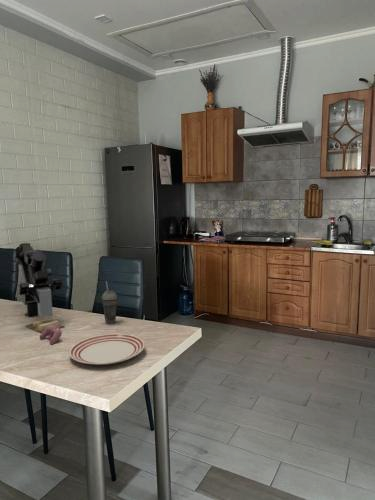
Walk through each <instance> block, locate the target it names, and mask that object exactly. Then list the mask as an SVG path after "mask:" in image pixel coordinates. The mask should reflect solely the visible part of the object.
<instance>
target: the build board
mask: <svg viewBox="0 0 375 500" xmlns="http://www.w3.org/2000/svg"><path fill="white" fill-rule="evenodd" d="M48 326H57V327H59V329H60V330H61V329H63V328H65V325H64V324H60V323H59V321H58V320H55V319H52V318H50V317H48V318H44V319H41V320H37V321H34V322H33V321H32V323H29V324H26V325H25V328H27V329H30V330H32V331H35V332H37V333H39V334H42V333H43V332H44V330H45V329H46V328H47V327H48Z"/></svg>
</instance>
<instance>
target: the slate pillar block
mask: <svg viewBox="0 0 375 500" xmlns="http://www.w3.org/2000/svg"><path fill="white" fill-rule="evenodd" d="M37 295H38V298H39V301H40V303H38V302H37V303H38V315H37V316H39V318H41V319H42V318H47V317H48V318H49V317H53V297H52V298H51V289H49V288H41V289H37Z"/></svg>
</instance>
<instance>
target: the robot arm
mask: <svg viewBox="0 0 375 500" xmlns="http://www.w3.org/2000/svg"><path fill="white" fill-rule="evenodd" d="M13 256H14V257H13V258H14V260H15V261H16V263H17V264H18V265H20V269H21V271H22V275H23V279H24V282H21V283H19V286H18V294H19V295H20V296H22V303H23V304H24V305H25V306H26V313H24V316H27V317H30V318H31V317H32V318H33V317H35V316H39V315H38V303H40V301H39V298H38V295H37V289H43V288H49V289H51V298H52V299H53V294H54V292H56V291H59V290H62V288H63V284H64V281H63V279H62V278H53V279H52V282H48V281H49V277H52V276H53V272H52V268H47V269H46V270H44V267H45V262H46V258H47V256H46V254H45V252H44V251H41V250H40V249H34V248H33V247H32V246H31V243H29V242H28V243H27V242H26V243H25V242H24V243H19V245H18V246H17V247H16V248H15V249H14V251H13ZM37 302H38V303H37Z"/></svg>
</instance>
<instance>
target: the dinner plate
mask: <svg viewBox="0 0 375 500" xmlns="http://www.w3.org/2000/svg"><path fill="white" fill-rule="evenodd" d="M145 347H146V344H145V341H144V340H143V339H142V338H140V337H138V336H136V335H134V334H133V335H132V334H126V333H125V334H124V333H107V334H100V335H95V336H94V335H93V336H91V337H88V338H84V339H83V340H80V341H79V342H77V343H75V344H74V345H73V346H71V347H70V349H69V352H68V354H69V357H70V358H71V359H72V360H73V361H75V362H78V363H80V364H81V363H82V364H87V365H97V366H99V365H101V366H102V365H112V364H118V363H122V362H125V361H127V360H130V359H133V358H135V357H136V356H138V355H139V354H140V353H142V352H143V351H144V350H145Z"/></svg>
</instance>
